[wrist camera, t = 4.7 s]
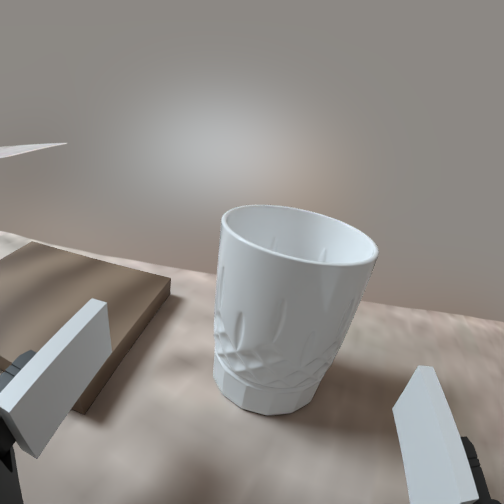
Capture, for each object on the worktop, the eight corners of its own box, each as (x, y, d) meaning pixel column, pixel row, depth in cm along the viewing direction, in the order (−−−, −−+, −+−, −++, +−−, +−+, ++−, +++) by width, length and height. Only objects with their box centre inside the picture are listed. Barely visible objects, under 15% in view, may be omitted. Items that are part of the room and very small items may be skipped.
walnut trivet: (170, 293, 27) (170, 278, 26) (84, 414, 14) (78, 397, 13) (33, 254, 28) (32, 241, 27) (-64, 321, 15) (-70, 305, 15)
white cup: (184, 400, 17) (195, 234, 13) (225, 327, 24) (245, 196, 20) (319, 437, 16) (390, 282, 12) (327, 354, 23) (370, 225, 19)
